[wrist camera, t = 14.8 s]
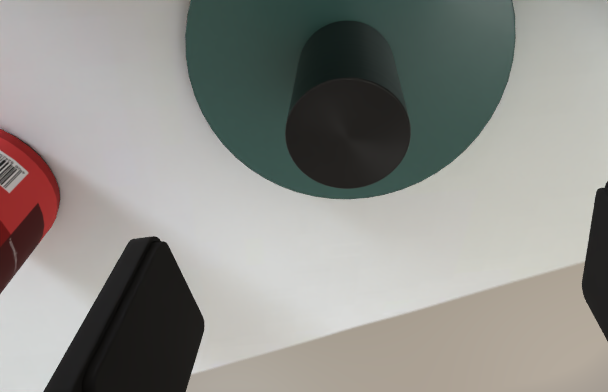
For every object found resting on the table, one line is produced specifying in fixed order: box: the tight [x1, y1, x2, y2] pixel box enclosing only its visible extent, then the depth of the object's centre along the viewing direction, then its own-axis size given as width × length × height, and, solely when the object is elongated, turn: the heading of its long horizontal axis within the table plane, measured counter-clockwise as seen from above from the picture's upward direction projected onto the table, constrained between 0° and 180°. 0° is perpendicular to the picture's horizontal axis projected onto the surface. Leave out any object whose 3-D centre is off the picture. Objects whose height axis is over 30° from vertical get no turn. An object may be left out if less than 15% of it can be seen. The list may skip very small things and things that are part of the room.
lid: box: [185, 0, 516, 199], centre depth 18 cm, size 14×14×7 cm
